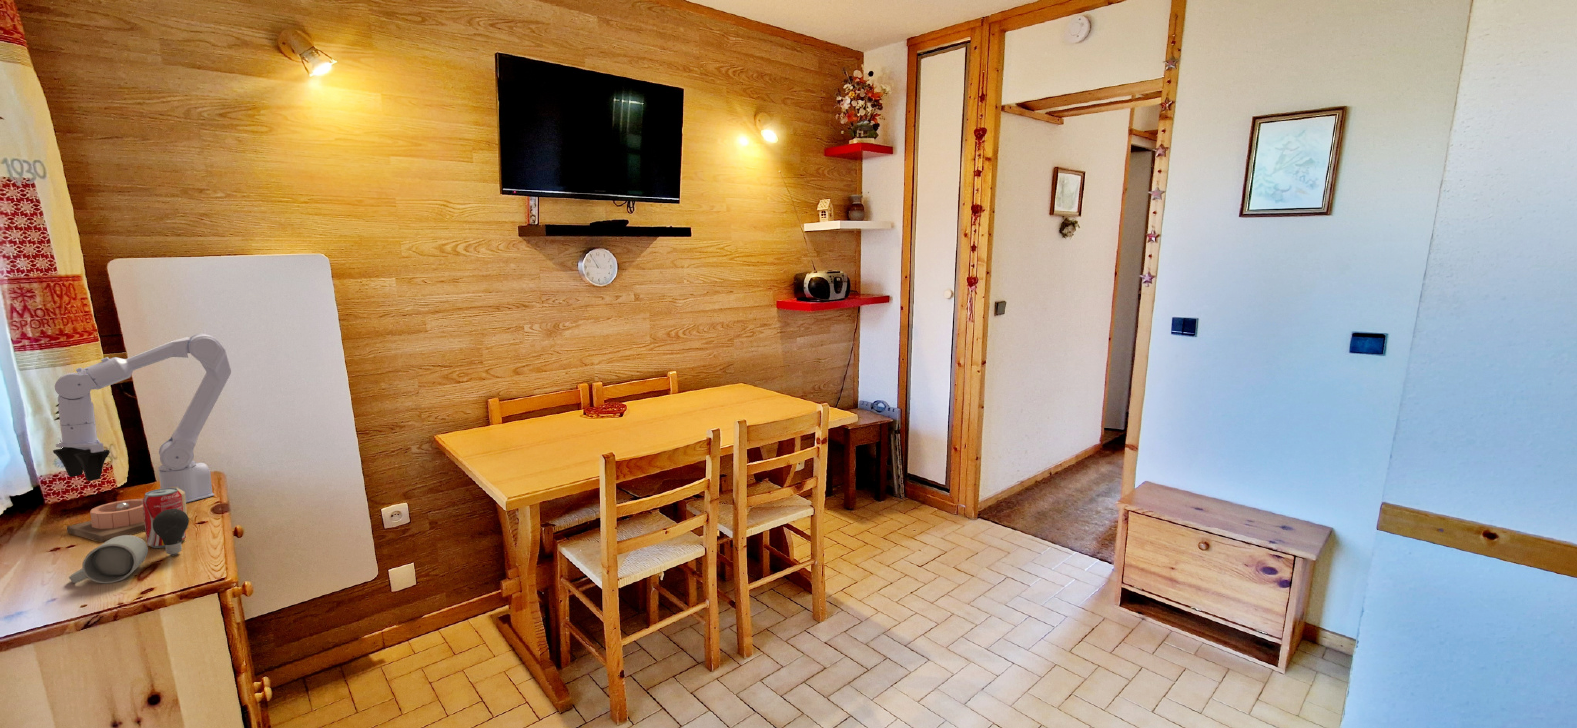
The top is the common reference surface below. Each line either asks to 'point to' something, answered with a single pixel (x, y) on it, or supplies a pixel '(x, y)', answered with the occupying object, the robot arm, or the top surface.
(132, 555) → the ceramic mug
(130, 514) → the coral ring
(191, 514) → the top surface
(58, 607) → the top surface
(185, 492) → the robot arm
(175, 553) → the light bulb
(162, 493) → the soda can
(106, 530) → the hook board
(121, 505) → the hook peg
